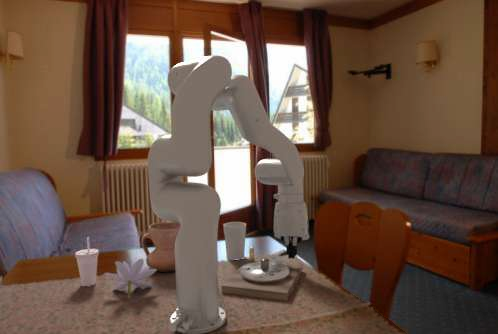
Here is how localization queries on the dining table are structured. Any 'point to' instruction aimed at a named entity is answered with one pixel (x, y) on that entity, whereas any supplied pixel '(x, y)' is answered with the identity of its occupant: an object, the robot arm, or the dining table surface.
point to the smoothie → (87, 265)
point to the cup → (235, 239)
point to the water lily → (131, 275)
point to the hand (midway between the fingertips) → (292, 257)
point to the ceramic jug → (161, 246)
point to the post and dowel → (263, 261)
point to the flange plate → (271, 275)
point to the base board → (263, 285)
